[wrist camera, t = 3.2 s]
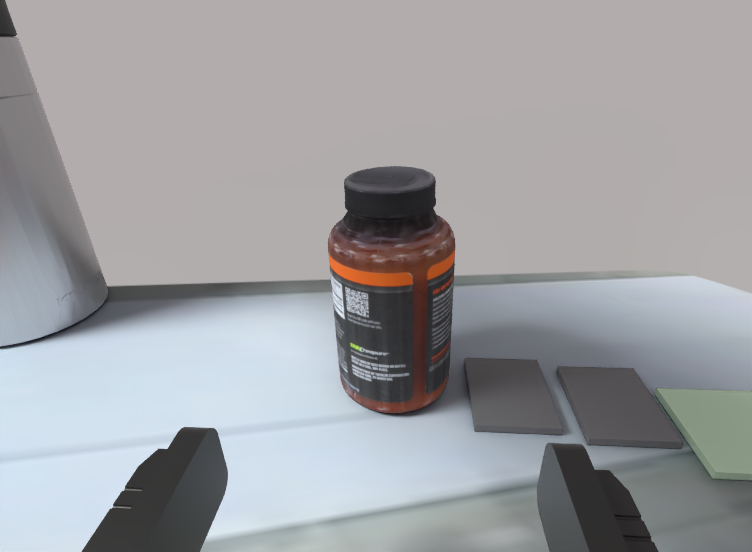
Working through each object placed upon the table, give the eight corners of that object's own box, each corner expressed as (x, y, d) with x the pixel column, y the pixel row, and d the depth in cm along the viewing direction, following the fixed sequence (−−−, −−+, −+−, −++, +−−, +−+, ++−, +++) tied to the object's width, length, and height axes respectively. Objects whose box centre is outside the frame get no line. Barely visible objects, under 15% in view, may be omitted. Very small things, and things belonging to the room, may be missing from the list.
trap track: (480, 467, 19) (481, 460, 19) (464, 363, 25) (464, 357, 25) (870, 486, 18) (875, 479, 17) (752, 372, 24) (754, 366, 24)
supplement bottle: (443, 346, 27) (454, 159, 21) (453, 421, 21) (471, 196, 16) (346, 345, 27) (332, 160, 22) (332, 418, 22) (310, 197, 16)
